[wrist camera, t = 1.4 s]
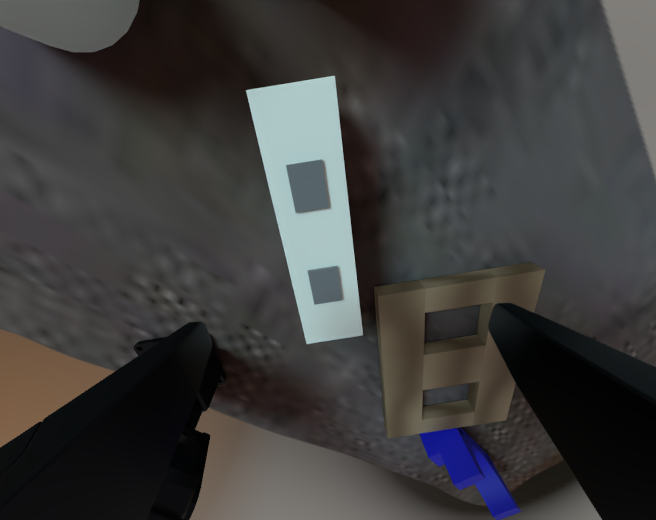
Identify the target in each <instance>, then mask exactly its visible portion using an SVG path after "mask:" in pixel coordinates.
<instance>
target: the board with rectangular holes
mask: <svg viewBox="0 0 656 520" xmlns="http://www.w3.org/2000/svg"><path fill="white" fill-rule="evenodd" d="M544 274H545V269H543V268H541V267H539V266H537V265H535V264H533V263H531V262H529V263H523V264H516V265H510V266H504V267H497V268H491V269H485V270H478V271H472V272H465V273H459V274H453V275H446V276H440V277H434V278H427V279H421V280H415V281H408V282H402V283H395V284H389V285H383V286H376V287H374V297H375V310H376V323H377V336H378V349H379V362H380V375H381V388H382V401H383V414H384V426H385V430H386V433H387V437H388V438H394V437H401V436H407V435H414V434H420V433H427V432H433V431H440V430H446V429H453V428H459V427H466V426H472V425H479V424H485V423H492V422H498V421H505V420H506V419H507V415H508V411H509V408H510V404H511V400H512V396H513V392H514V388H515V385H516V382H515V381H514V379H513V377H512V375H511V373H510V372H509V370H508V368H507V366H506V364H505V362H504V360H503V358H502V356H501V354H500V352H499V350H498V348H497V346H496V344H495V342H494V340H493V338H492V336H491V334H490V332H489V329H488V323H489V319H490V316H491V313H492V309H493V307H494V305H495V304H497V303H513V304H515V305H517V306H520V307H522V308H524V309H526V310H529V311H531V312H533V313H534V312H535V308H536V304H537V301H538V297H539V293H540V289H541V285H542V281H543V278H544ZM480 304H481V305H480ZM473 305H480V312H479V319H478V326H477V333H476V335H470V336H464V337H458V338H451V339H445V340H438V341H432V342H425V343H424V330H425V313H428V312H435V311H441V310H448V309H454V308H460V307H467V306H473ZM466 383H469V388H468V395H467V400H460V401H454V402H447V403H441V404H434V405H428V406H422V401H423V390H428V389H434V388H441V387H447V386H454V385H460V384H466Z"/></svg>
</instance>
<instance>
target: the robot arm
mask: <svg viewBox="0 0 656 520" xmlns="http://www.w3.org/2000/svg"><path fill="white" fill-rule="evenodd" d="M488 329H489V332H490V334H491V336H492V338H493V340H494V342H495V344H496V346H497V348H498V350H499V352H500V354H501V356H502V358H503V360H504V362H505V364H506V366H507V368H508V370H509V372H510V373H511V375H512V377H513V379H514V381H515V382H516V384H517V386H518V387H519V389H520V391H521V392H522V394H523V395H524V397H525V398H526V400H527V402H528V403H529V405H530V406H531V408H532V410H533V411H534V413H535V414H536V416H537V417H538V419H539V421H540V422H541V424H542V425H543V427H544V429H545V430H546V432H547V433H548V435H549V436H550V438H551V440H552V441H553V443H554V444H555V446H556V447H557V449H558V451H559V452H560V454H561V455H562V457H563V459H564V460H565V462H566V463H567V465H568V466H569V468H570V470H571V471H572V473H573V474H574V476H575V478H576V479H577V481H578V482H579V484H580V485H581V487H582V489H583V490H584V492H585V493H586V495H587V496H588V498H589V500H590V501H591V503H592V504H593V506H594V508H595V509H596V511H597V512H598V514H599V515H600V517H601V518H602V520H656V367H654V366H652V365H650V364H648V363H645V362H643V361H641V360H639V359H636V358H634V357H632V356H630V355H627V354H625V353H623V352H621V351H618V350H616V349H614V348H612V347H609V346H607V345H605V344H603V343H600V342H598V341H596V340H594V339H591V338H589V337H587V336H585V335H582V334H580V333H578V332H576V331H574V330H571V329H569V328H567V327H565V326H562V325H560V324H558V323H556V322H553V321H551V320H549V319H547V318H544V317H542V316H540V315H538V314H535V313H533V312H531V311H529V310H526V309H524V308H522V307H520V306H517V305H515V304H513V303H497V304H495V305H494V307H493V309H492V313H491V316H490V319H489V323H488ZM134 350H135V351H136V353H137V355H138V357H136V358H135V359H133V360H132V361H130V362H129V363H127V364H126V365H124V366H123V367H121V368H120V369H118V370H117V371H115V372H114V373H112V374H111V375H109V376H108V377H106V378H105V379H103V380H102V381H100V382H99V383H97V384H96V385H94V386H93V387H91V388H90V389H88V390H87V391H85V392H84V393H82V394H81V395H79V396H78V397H76V398H75V399H73V400H72V401H70V402H69V403H67V404H66V405H64V406H63V407H61V408H60V409H58V410H57V411H55V412H54V413H52V414H51V415H49V416H48V417H46V418H45V419H44V420H43V422H38V423H37V424H35V425H34V426H33V427H31V428H30V429H28V430H26V431H25V432H23V433H22V434H20V435H19V436H17V437H16V438H14V439H13V440H11V441H10V442H8V443H7V444H5V445H4V446H2V447H1V448H0V520H189V519H190V517H191V515H192V513H193V510H194V508H195V505H196V502H197V500H198V497H199V493H200V489H201V484H202V478H203V473H204V467H205V462H206V457H207V451H208V445H209V440H210V435H209V434H207V433H201V432H199V431H197V430H195V428H196V426H197V423H198V421H199V418H200V416H201V414H202V412H204V411H206V410H207V409H208V408H209V405H210V403H211V400H212V398H213V395H214V393H215V390H216V388H217V385H221V384H224V382H225V380H226V376H225V374H224V372H223V368H222V366H221V364H220V362H219V360H218V357H217V355H216V353H215V352H214V350H213V348H212V340H211V337H210V335H209V332H208V330H207V328H206V325H205V324H204V323H203V322H190V323H187V324H186V325H184V326H183V327H181V328H180V329H178V330H177V331H175V332H174V333H172V334H171V335H169V336H168V337H165V338H158V339H152V340H145V341H140V342H138V343H137V344H136V345H135V346H134Z"/></svg>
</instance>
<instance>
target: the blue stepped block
mask: <svg viewBox="0 0 656 520" xmlns="http://www.w3.org/2000/svg"><path fill="white" fill-rule="evenodd" d="M420 436H421V439H422V441H423V444H424V447H425V449H426V452H427V455H428V457H429V458H430V459H431V460H432V461H433V462H434V463H435V464H437V465H438V466H439V467H440V466H442V465H444V464H445V465H446V468H447V470H448V472H449V475H450V477H451V479H452V482H453V484H454V485H455V486H456V487H457V488H458V489H459V490H462V489H464V488H466V487H468V486H471V485H473V484H475V485H476V487H477V488H478V490H479V492H480V494H481V495H482V497H483V499H484V501H485V503H486V504H487V506H488V508H489V510H490V512H491V514H492V516H493V517H494V518H495V519H496V520H501V519H503V518H506V517H508V516H511V515H514V514H516V513H519V512H521V511H520V509H519V507H518V506H517V504H516V502H515V500H514V499H513V497H512V495H511V494H510V492H509V490H508V488H507V487H506V485H505V483H504V481H503V480H502V478H501V476H500V475H499V473H498V471H497V469H496V468H495V466H494V464H493V463H492V461H491V459H490V457H489V456H488V455H487V454H486V452H485V451H484V450H483V449H482V448H481V447H480V446H479V445H478V444H477V443H476V442H475V441H474V440H473V439H472V438H471V437H470V436H469V435H468V434H467V433H466V432H465V431H464V430H463V429H462V428H461V427H459V428H453V429H446V430H440V431H433V432H427V433H420Z"/></svg>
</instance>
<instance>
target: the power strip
mask: <svg viewBox="0 0 656 520" xmlns="http://www.w3.org/2000/svg"><path fill="white" fill-rule="evenodd" d="M246 93H247V97H248V101H249V105H250V110H251V114H252V118H253V122H254V126H255V130H256V135H257V139H258V143H259V147H260V151H261V155H262V160H263V164H264V168H265V172H266V176H267V180H268V185H269V189H270V193H271V197H272V201H273V205H274V210H275V214H276V218H277V222H278V226H279V230H280V235H281V239H282V243H283V247H284V251H285V255H286V260H287V264H288V268H289V272H290V276H291V280H292V285H293V289H294V293H295V297H296V301H297V305H298V310H299V314H300V318H301V322H302V326H303V330H304V335H305V339H306V343H307V344H310V343H316V342H323V341H329V340H336V339H342V338H348V337H355V336H361V335H363V330H362V321H361V312H360V303H359V294H358V285H357V275H356V266H355V257H354V248H353V239H352V230H351V220H350V211H349V202H348V193H347V184H346V175H345V166H344V156H343V147H342V138H341V129H340V120H339V111H338V101H337V92H336V83H335V76H330V77H324V78H318V79H312V80H306V81H299V82H293V83H287V84H281V85H275V86H269V87H262V88H256V89H250V90H246Z"/></svg>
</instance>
